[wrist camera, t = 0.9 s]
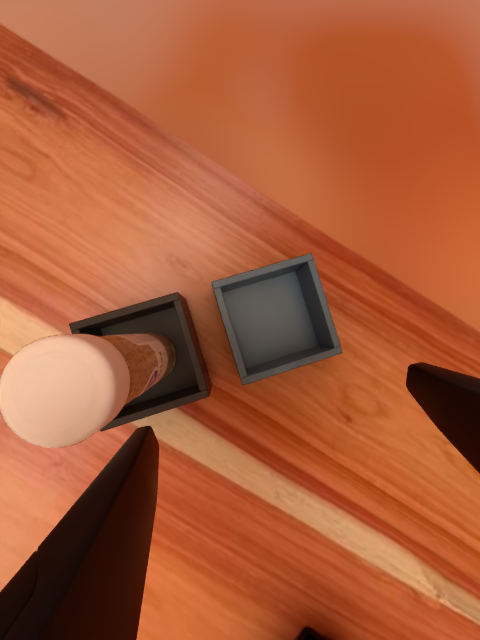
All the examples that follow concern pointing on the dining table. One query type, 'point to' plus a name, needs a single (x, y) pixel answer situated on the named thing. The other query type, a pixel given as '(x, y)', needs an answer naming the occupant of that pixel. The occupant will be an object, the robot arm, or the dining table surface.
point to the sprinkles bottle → (78, 383)
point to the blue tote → (276, 318)
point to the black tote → (178, 327)
